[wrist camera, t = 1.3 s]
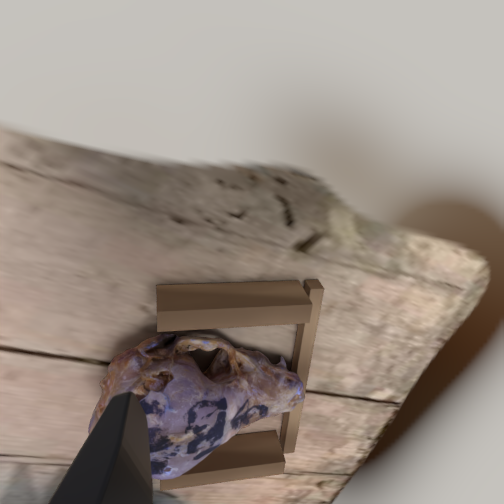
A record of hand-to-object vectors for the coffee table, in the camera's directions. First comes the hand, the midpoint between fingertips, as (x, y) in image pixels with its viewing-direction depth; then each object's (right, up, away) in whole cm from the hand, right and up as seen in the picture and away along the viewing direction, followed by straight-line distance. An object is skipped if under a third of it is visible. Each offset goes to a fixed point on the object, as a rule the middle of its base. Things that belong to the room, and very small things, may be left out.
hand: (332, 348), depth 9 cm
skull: (-5, -5, +17) cm, 19 cm away
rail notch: (-3, -6, +17) cm, 18 cm away
